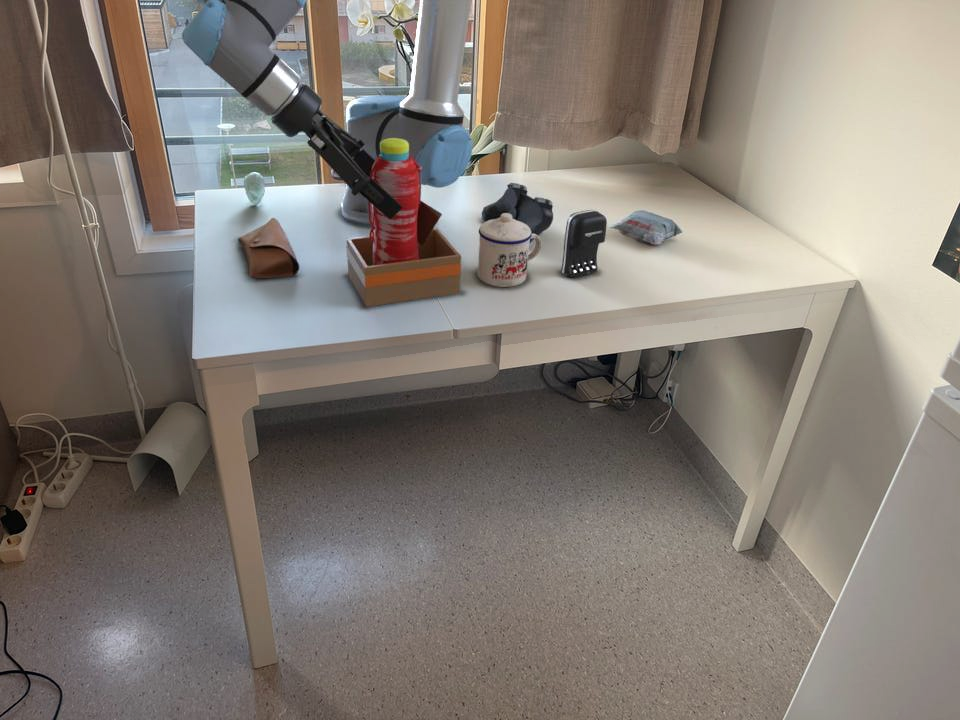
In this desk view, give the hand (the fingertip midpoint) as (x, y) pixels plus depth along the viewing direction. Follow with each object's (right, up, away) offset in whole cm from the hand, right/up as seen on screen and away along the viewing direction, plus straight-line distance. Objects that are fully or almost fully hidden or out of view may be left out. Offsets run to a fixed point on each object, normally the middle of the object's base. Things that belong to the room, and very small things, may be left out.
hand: (391, 197), depth 119 cm
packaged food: (+47, -2, +31) cm, 56 cm away
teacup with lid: (+19, -11, +14) cm, 26 cm away
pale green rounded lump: (-32, +6, +36) cm, 48 cm away
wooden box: (+1, -13, +9) cm, 16 cm away
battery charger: (+32, -11, +16) cm, 38 cm away
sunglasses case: (-24, -8, +15) cm, 30 cm away
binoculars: (+22, 0, +31) cm, 38 cm away
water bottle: (+1, -13, +9) cm, 16 cm away
